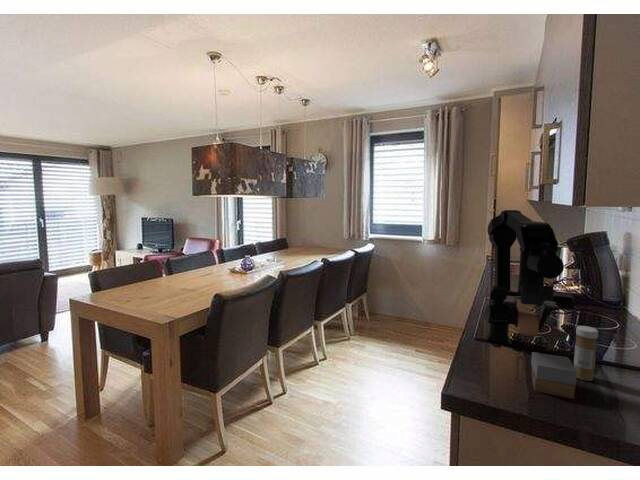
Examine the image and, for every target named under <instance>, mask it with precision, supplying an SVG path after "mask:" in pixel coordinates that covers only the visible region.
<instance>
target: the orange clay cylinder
mask: <svg viewBox="0 0 640 480" xmlns="http://www.w3.org/2000/svg"><path fill="white" fill-rule="evenodd" d="M518 311H519V312H518V317H517V322H518V323H517V327H516V332H517V333H519V334H521V335H525V336H532V337H533V336H538V335H539V332H540V331H539V319H540V314H539V313H536V312H533V311H526V310H518Z"/></svg>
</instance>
